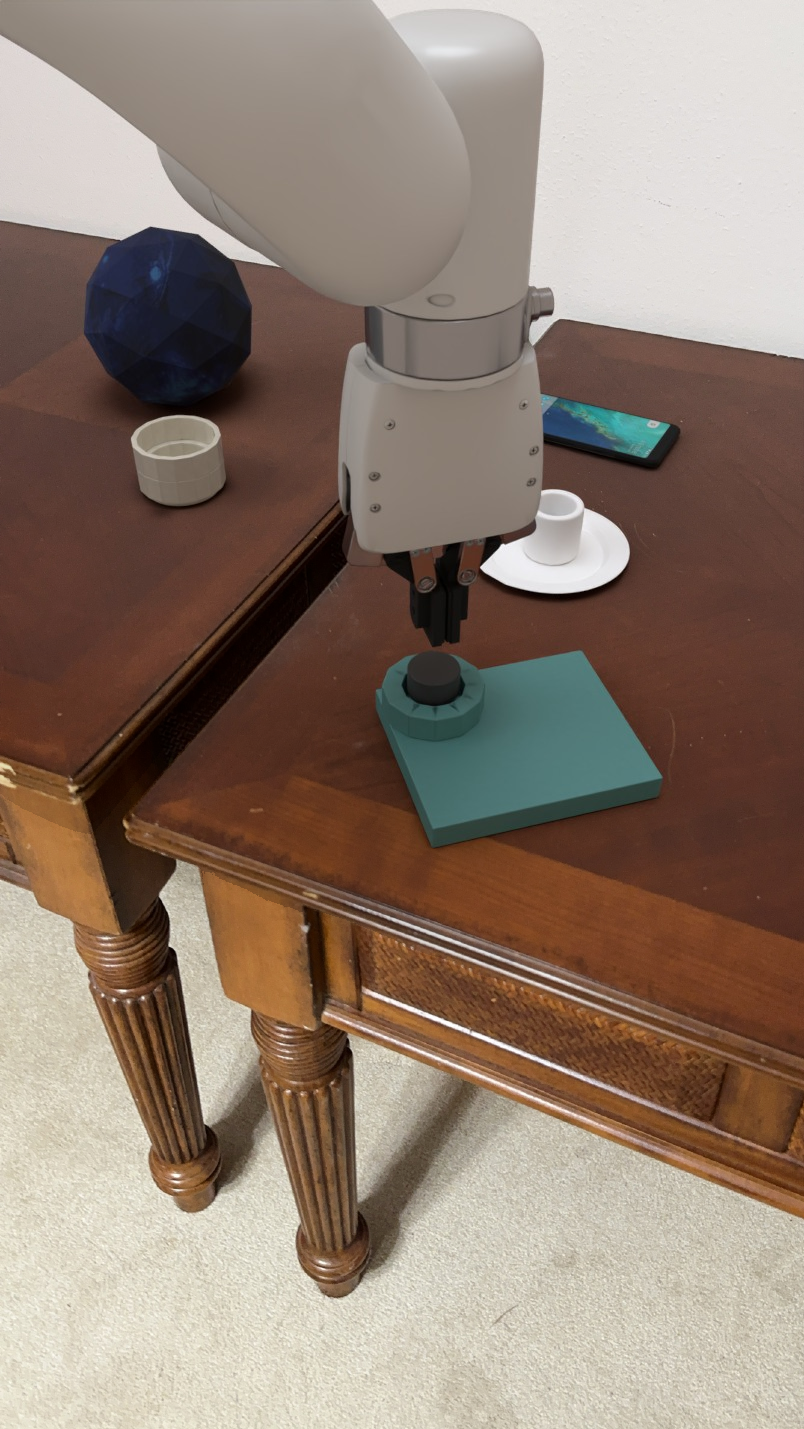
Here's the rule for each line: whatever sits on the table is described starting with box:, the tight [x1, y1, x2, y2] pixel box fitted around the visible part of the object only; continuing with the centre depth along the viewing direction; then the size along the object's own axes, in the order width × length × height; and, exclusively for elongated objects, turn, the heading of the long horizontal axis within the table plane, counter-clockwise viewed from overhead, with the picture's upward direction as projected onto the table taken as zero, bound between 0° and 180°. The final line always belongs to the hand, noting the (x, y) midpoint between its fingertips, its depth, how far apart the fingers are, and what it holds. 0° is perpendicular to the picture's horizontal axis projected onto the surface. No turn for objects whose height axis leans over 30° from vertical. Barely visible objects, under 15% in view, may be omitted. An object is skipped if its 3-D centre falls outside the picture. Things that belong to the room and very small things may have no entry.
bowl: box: [130, 414, 227, 507], centre depth 88 cm, size 7×7×4 cm
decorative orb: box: [83, 225, 253, 407], centre depth 96 cm, size 14×15×15 cm
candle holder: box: [480, 488, 631, 595], centre depth 81 cm, size 12×12×4 cm
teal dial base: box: [375, 649, 664, 849], centre depth 67 cm, size 14×13×4 cm
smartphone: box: [540, 392, 681, 468], centre depth 96 cm, size 7×1×15 cm
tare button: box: [407, 650, 461, 706], centre depth 66 cm, size 3×3×2 cm
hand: (438, 630), depth 64 cm, fingers closed
